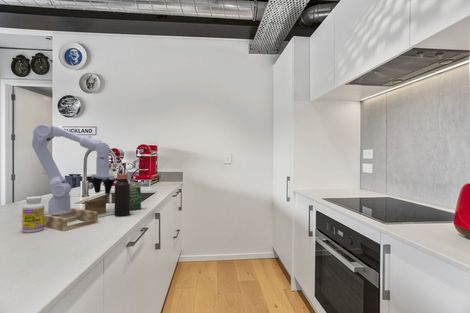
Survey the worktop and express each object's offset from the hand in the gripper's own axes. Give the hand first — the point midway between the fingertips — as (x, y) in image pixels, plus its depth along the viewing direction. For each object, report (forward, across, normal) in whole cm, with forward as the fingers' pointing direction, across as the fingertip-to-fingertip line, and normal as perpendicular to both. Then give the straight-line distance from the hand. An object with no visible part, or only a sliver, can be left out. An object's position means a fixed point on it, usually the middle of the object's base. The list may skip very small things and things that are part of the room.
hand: (102, 193), depth 130 cm
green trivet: (+10, -2, +5) cm, 11 cm away
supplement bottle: (+10, -4, +32) cm, 34 cm away
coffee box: (+10, -8, -12) cm, 18 cm away
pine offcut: (+10, -2, +21) cm, 23 cm away
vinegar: (+10, -13, -1) cm, 16 cm away
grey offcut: (+8, -2, +21) cm, 22 cm away
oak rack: (+10, -6, +20) cm, 24 cm away
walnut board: (+10, -2, +5) cm, 11 cm away
